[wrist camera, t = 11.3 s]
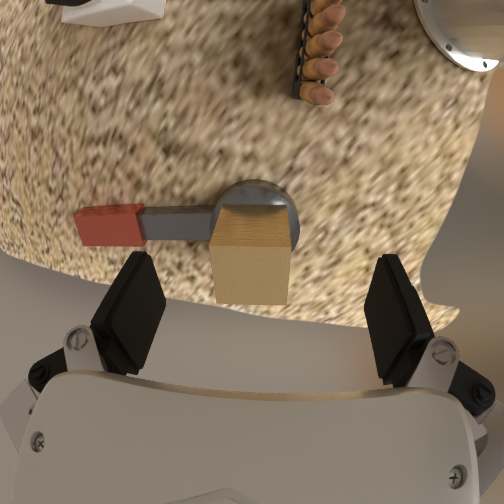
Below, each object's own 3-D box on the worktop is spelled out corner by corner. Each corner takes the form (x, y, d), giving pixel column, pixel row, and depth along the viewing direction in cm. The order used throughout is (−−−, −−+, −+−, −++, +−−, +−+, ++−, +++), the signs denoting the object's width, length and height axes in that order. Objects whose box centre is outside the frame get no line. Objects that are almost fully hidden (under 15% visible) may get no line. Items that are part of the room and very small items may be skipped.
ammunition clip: (303, -3, 16) (329, -57, 6) (324, 0, 16) (363, -48, 6) (291, 97, 22) (309, 111, 12) (311, 101, 22) (344, 118, 12)
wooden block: (286, 204, 26) (291, 247, 20) (283, 256, 29) (286, 305, 23) (222, 204, 26) (208, 245, 20) (226, 255, 29) (216, 303, 24)
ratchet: (300, 180, 27) (307, 207, 22) (295, 253, 32) (298, 290, 27) (78, 190, 28) (49, 214, 23) (97, 250, 34) (76, 279, 29)
